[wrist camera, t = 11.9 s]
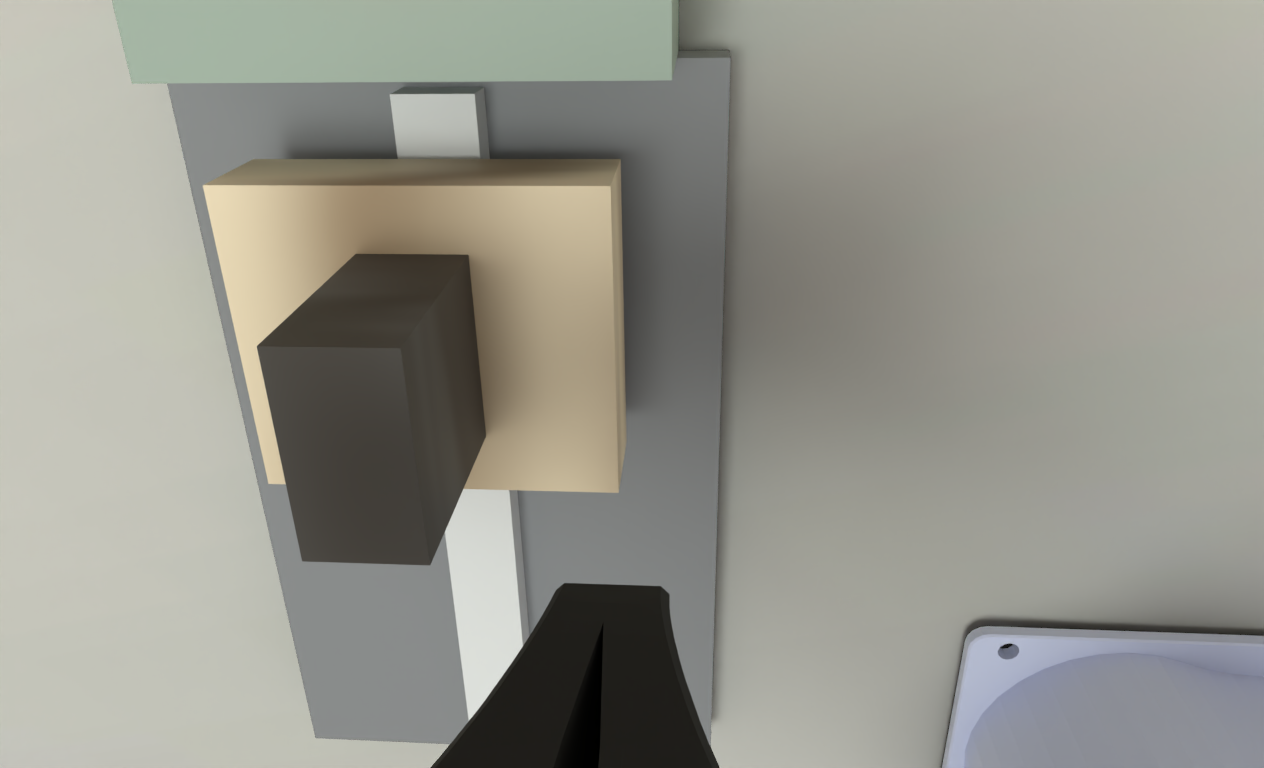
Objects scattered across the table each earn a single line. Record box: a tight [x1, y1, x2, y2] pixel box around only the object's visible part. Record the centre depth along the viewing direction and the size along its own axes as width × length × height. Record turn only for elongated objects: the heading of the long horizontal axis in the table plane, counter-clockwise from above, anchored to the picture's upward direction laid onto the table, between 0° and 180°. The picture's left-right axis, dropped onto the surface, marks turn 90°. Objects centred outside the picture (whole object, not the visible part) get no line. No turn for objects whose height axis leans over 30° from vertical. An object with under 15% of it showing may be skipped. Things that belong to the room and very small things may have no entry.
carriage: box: [203, 159, 627, 565], centre depth 16 cm, size 7×6×6 cm
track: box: [167, 50, 731, 747], centre depth 22 cm, size 11×18×2 cm, turn 1°
